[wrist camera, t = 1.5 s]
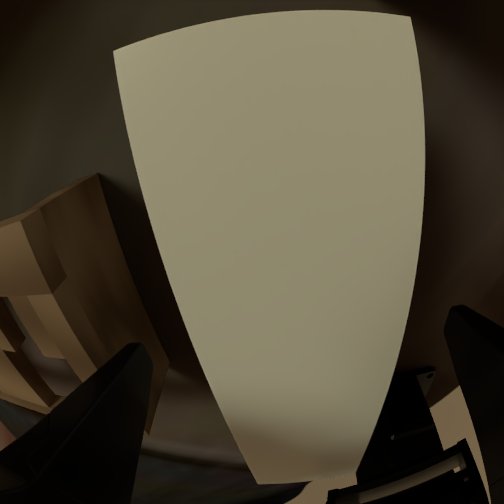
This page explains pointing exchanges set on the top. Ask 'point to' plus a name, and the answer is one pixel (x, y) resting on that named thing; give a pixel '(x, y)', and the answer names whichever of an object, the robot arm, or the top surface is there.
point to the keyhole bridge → (69, 295)
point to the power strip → (286, 217)
